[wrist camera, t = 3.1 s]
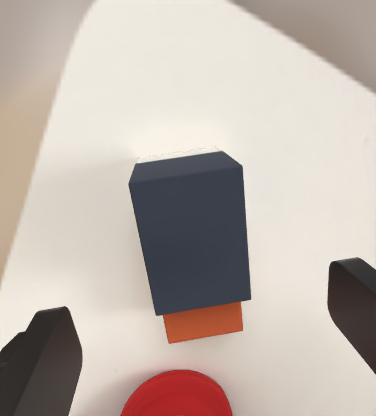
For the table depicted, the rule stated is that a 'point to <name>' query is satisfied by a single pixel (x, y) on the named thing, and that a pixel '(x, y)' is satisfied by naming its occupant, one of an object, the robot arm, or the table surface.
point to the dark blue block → (193, 240)
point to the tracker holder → (178, 396)
